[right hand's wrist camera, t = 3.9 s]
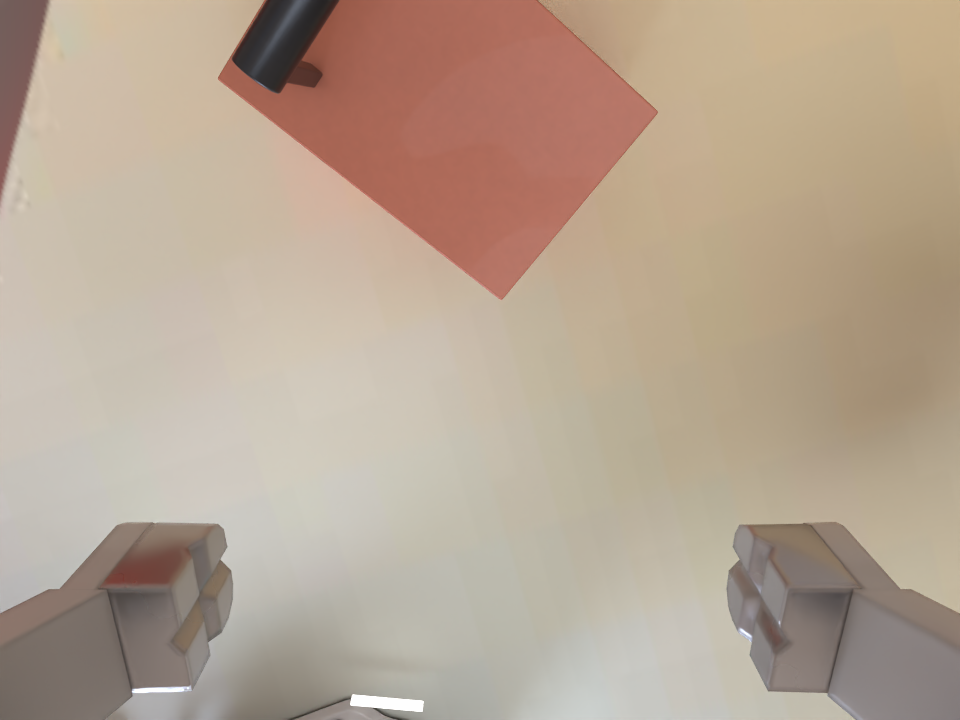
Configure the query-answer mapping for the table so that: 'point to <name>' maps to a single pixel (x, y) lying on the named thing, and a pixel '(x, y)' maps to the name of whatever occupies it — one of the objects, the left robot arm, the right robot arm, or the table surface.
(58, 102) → the table surface
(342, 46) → the lid
